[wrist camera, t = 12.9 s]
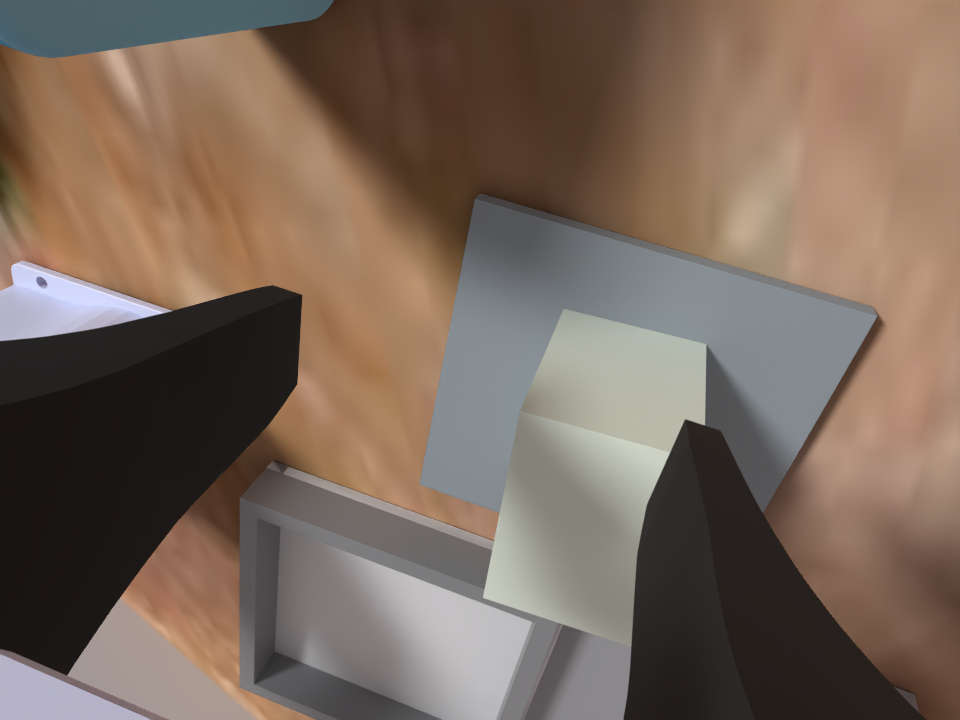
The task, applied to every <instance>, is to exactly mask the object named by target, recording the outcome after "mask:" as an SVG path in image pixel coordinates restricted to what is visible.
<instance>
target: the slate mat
mask: <svg viewBox="0 0 960 720" xmlns="http://www.w3.org/2000/svg"><path fill="white" fill-rule="evenodd" d="M564 309H567V310H571V311H575V312H579V313H583V314H587V315H591V316H595V317H599V318H603V319H607V320H611V321H615V322H619V323H623V324H627V325H631V326H635V327H639V328H643V329H647V330H651V331H655V332H659V333H663V334H667V335H671V336H675V337H679V338H683V339H687V340H691V341H695V342H700V343H704V344H706V398H705V426H708V427H711V428H714V429H717V430H720V431H721V432H722V434H723V436H724V438H725V440H726V442H727V444H728V446H729V448H730V450H731V452H732V454H733V456H734V458H735V461H736V463H737V465H738V467H739V469H740V471H741V473H742V475H743V477H744V479H745V481H746V483H747V485H748V487H749V489H750V491H751V493H752V494H753V496H754V498H755V500H756V502H757V504H758V506H759V507H760V509H761V511H762V513H763V512H764V511H765V509H766V507H767V506H768V504H769V502H770V500H771V499H772V497H773V495H774V494H775V492H776V490H777V488H778V487H779V485H780V483H781V481H782V480H783V478H784V476H785V475H786V473H787V471H788V469H789V468H790V466H791V464H792V463H793V461H794V459H795V457H796V456H797V454H798V452H799V450H800V449H801V447H802V445H803V444H804V442H805V440H806V438H807V437H808V435H809V433H810V432H811V430H812V428H813V426H814V425H815V423H816V421H817V419H818V418H819V416H820V414H821V413H822V411H823V409H824V407H825V406H826V404H827V402H828V401H829V399H830V397H831V395H832V394H833V392H834V390H835V388H836V387H837V385H838V383H839V382H840V380H841V378H842V376H843V375H844V373H845V371H846V370H847V368H848V366H849V364H850V363H851V361H852V359H853V357H854V356H855V354H856V352H857V351H858V349H859V347H860V345H861V344H862V342H863V340H864V338H865V337H866V335H867V333H868V332H869V330H870V328H871V326H872V325H873V323H874V321H875V320H876V318H877V314H876V312H875V310H874V308H873V307H871V306H867V305H864V304H861V303H857V302H854V301H850V300H847V299H843V298H840V297H836V296H833V295H830V294H826V293H823V292H819V291H816V290H812V289H809V288H805V287H802V286H798V285H795V284H792V283H788V282H785V281H781V280H778V279H774V278H771V277H767V276H764V275H760V274H757V273H754V272H750V271H747V270H743V269H740V268H736V267H733V266H729V265H726V264H723V263H719V262H716V261H712V260H709V259H705V258H702V257H698V256H695V255H691V254H688V253H685V252H681V251H678V250H674V249H671V248H667V247H664V246H660V245H657V244H653V243H650V242H647V241H643V240H640V239H636V238H633V237H629V236H626V235H622V234H619V233H616V232H612V231H609V230H605V229H602V228H598V227H595V226H591V225H588V224H584V223H581V222H578V221H574V220H571V219H567V218H564V217H560V216H557V215H553V214H550V213H546V212H543V211H540V210H536V209H533V208H529V207H526V206H522V205H519V204H515V203H512V202H509V201H505V200H502V199H498V198H495V197H491V196H488V195H484V194H481V193H480V194H479V195H478V196H477V197H476V198H475V200H474V205H473V211H472V216H471V221H470V226H469V231H468V236H467V242H466V247H465V252H464V257H463V262H462V267H461V273H460V278H459V283H458V288H457V293H456V298H455V304H454V309H453V314H452V319H451V324H450V329H449V335H448V340H447V345H446V350H445V355H444V360H443V366H442V371H441V376H440V381H439V386H438V391H437V397H436V402H435V407H434V412H433V417H432V422H431V428H430V433H429V438H428V443H427V448H426V453H425V459H424V464H423V469H422V474H421V479H420V485H422V486H425V487H428V488H431V489H434V490H436V491H439V492H442V493H445V494H448V495H450V496H453V497H456V498H459V499H462V500H464V501H467V502H470V503H473V504H476V505H478V506H481V507H484V508H487V509H490V510H492V511H495V512H498V513H500V509H501V504H502V499H503V494H504V489H505V484H506V479H507V474H508V469H509V464H510V459H511V454H512V449H513V444H514V439H515V434H516V429H517V424H518V419H519V414H520V410H521V407H522V405H523V403H524V400H525V398H526V396H527V393H528V391H529V389H530V386H531V384H532V382H533V379H534V377H535V375H536V372H537V370H538V368H539V366H540V363H541V361H542V359H543V356H544V354H545V352H546V349H547V347H548V345H549V342H550V340H551V338H552V335H553V333H554V331H555V328H556V326H557V324H558V321H559V319H560V317H561V314H562V312H563V310H564Z"/></svg>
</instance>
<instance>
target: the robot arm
mask: <svg viewBox="0 0 960 720" xmlns="http://www.w3.org/2000/svg"><path fill="white" fill-rule="evenodd" d="M12 277H13V282H14V285H12V286H10V287H8V288H6V289H4V290H2V291H0V720H168V719H166V718H163V717H161V716H159V715H156V714H154V713H152V712H150V711H147V710H145V709H143V708H140V707H138V706H136V705H133V704H131V703H129V702H126V701H124V700H122V699H119V698H117V697H115V696H113V695H110V694H108V693H106V692H103V691H101V690H99V689H96V688H94V687H91V686H89V685H87V684H85V683H82V682H80V681H78V680H76V679H73V678H71V677H68V676H67V675H68V673H69V672H70V670H71V668H72V667H73V665H74V664H75V662H76V661H77V659H78V658H79V656H80V655H81V653H82V652H83V650H84V649H85V648H86V646H87V645H88V643H89V642H90V640H91V639H92V637H93V636H94V634H95V633H96V631H97V630H98V628H99V627H100V625H101V624H102V623H103V621H104V620H105V618H106V616H107V615H108V614H109V612H110V611H111V609H112V608H113V607H114V605H115V604H116V602H117V601H118V600H119V598H120V597H121V596H122V594H123V593H124V591H125V590H126V589H127V587H128V586H129V585H130V583H131V582H132V580H133V579H134V578H135V576H136V575H137V574H138V572H139V571H140V569H141V568H142V567H143V565H144V564H145V563H146V561H147V560H148V559H149V557H150V556H151V555H152V554H153V552H154V551H155V550H156V548H157V547H158V546H159V544H160V543H161V542H162V541H163V539H164V538H165V537H166V535H167V534H168V533H169V531H170V530H171V529H172V528H173V526H174V525H175V524H176V523H177V521H178V520H179V519H180V518H181V517H182V516H183V515H184V513H185V512H186V511H187V510H188V509H189V508H190V507H191V505H192V504H193V503H194V502H195V501H196V500H197V499H198V498H199V497H200V496H201V495H202V494H203V493H204V492H205V491H206V490H207V489H208V488H209V487H210V486H211V485H212V484H213V482H214V481H215V480H216V479H217V478H219V477H220V476H221V475H222V474H223V473H224V471H225V470H226V469H227V468H228V467H229V466H230V465H231V464H232V463H233V462H234V461H235V460H236V459H237V458H238V457H239V456H240V455H241V453H242V452H243V451H244V450H245V449H246V448H247V447H248V446H249V445H250V444H251V443H252V442H253V441H254V440H255V439H256V438H257V437H258V436H259V434H260V433H261V432H262V431H263V430H264V429H265V428H266V427H267V426H268V425H269V424H270V422H271V421H272V419H273V418H274V417H275V415H276V414H277V413H278V411H279V410H280V409H281V407H282V406H283V404H284V403H285V401H286V400H287V399H288V397H289V396H290V394H291V393H292V391H293V390H294V388H295V387H296V385H297V379H298V361H299V343H300V325H301V308H302V295H301V294H298V293H295V292H292V291H289V290H285V289H282V288H279V287H276V286H273V285H272V286H266V287H261V288H256V289H252V290H248V291H244V292H240V293H236V294H233V295H229V296H225V297H222V298H218V299H214V300H211V301H207V302H203V303H200V304H196V305H192V306H189V307H185V308H181V309H178V310H174V311H172V310H169V309H166V308H163V307H160V306H157V305H154V304H151V303H148V302H145V301H142V300H139V299H136V298H133V297H130V296H127V295H124V294H121V293H118V292H115V291H112V290H109V289H106V288H104V287H101V286H98V285H95V284H92V283H89V282H86V281H83V280H80V279H77V278H74V277H71V276H68V275H65V274H62V273H59V272H56V271H53V270H50V269H47V268H44V267H41V266H38V265H35V264H32V263H29V262H26V261H21V262H18V263H16V264H14V265H13V266H12ZM623 720H926V719H925V718H924V717H923V716H922V715H921V714H920V713H919V712H918V711H917V710H916V709H915V708H914V707H913V706H912V705H911V704H910V703H909V702H908V701H907V700H906V699H905V698H904V697H903V696H902V695H901V694H900V693H899V692H898V691H897V690H896V689H895V688H894V687H893V686H892V685H891V683H890V682H889V681H888V680H887V679H886V678H885V677H884V676H883V675H882V674H881V673H880V672H879V671H878V669H877V668H876V667H875V666H874V665H873V664H872V663H871V661H870V660H869V659H868V658H867V657H866V656H865V655H864V654H863V652H862V651H861V650H860V649H859V648H858V647H857V646H856V645H855V643H854V642H853V641H852V640H851V639H850V638H849V636H848V635H847V634H846V633H845V632H844V630H843V629H842V628H841V627H840V626H839V624H838V623H837V622H836V621H835V619H834V618H833V617H832V616H831V614H830V613H829V612H828V610H827V609H826V608H825V606H824V605H823V604H822V602H821V601H820V600H819V598H818V597H817V596H816V594H815V593H814V592H813V590H812V589H811V588H810V586H809V585H808V584H807V582H806V581H805V580H804V578H803V577H802V575H801V574H800V572H799V571H798V570H797V568H796V567H795V565H794V563H793V562H792V560H791V559H790V557H789V556H788V554H787V553H786V551H785V549H784V548H783V546H782V545H781V543H780V542H779V540H778V538H777V537H776V535H775V534H774V532H773V530H772V528H771V527H770V525H769V523H768V522H767V520H766V518H765V516H764V515H763V513H762V511H761V509H760V507H759V506H758V504H757V502H756V500H755V498H754V496H753V494H752V493H751V491H750V489H749V487H748V485H747V483H746V481H745V479H744V477H743V475H742V473H741V471H740V469H739V467H738V465H737V463H736V461H735V458H734V456H733V454H732V452H731V450H730V448H729V446H728V444H727V442H726V440H725V438H724V436H723V434H722V432H721V431H720V430H717V429H714V428H711V427H708V426H705V425H702V424H699V423H696V422H693V421H690V420H687V419H685V420H684V423H683V425H682V427H681V429H680V432H679V434H678V436H677V438H676V441H675V443H674V445H673V447H672V450H671V452H670V454H669V456H668V458H667V461H666V463H665V465H664V467H663V470H662V472H661V474H660V476H659V479H658V481H657V483H656V485H655V488H654V490H653V492H652V494H651V496H650V499H649V501H648V503H647V506H646V511H645V516H644V521H643V526H642V531H641V536H640V541H639V547H638V552H637V562H636V577H635V593H634V609H633V626H632V643H631V660H630V674H629V684H628V693H627V700H626V706H625V712H624V718H623Z"/></svg>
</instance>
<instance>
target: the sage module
mask: <svg viewBox="0 0 960 720" xmlns="http://www.w3.org/2000/svg"><path fill="white" fill-rule="evenodd" d="M705 398H706V344H704V343H700V342H695V341H691V340H687V339H683V338H679V337H675V336H671V335H667V334H663V333H659V332H655V331H651V330H647V329H643V328H639V327H635V326H631V325H627V324H623V323H619V322H615V321H611V320H607V319H603V318H599V317H595V316H591V315H587V314H583V313H579V312H575V311H571V310H567V309H564V310H563V312H562V314H561V317H560V319H559V321H558V324H557V326H556V328H555V331H554V333H553V335H552V338H551V340H550V342H549V345H548V347H547V349H546V352H545V354H544V356H543V359H542V361H541V363H540V366H539V368H538V370H537V372H536V375H535V377H534V379H533V382H532V384H531V386H530V389H529V391H528V393H527V396H526V398H525V400H524V403H523V405H522V407H521V410H520V414H519V419H518V424H517V429H516V434H515V439H514V444H513V449H512V454H511V459H510V464H509V469H508V474H507V479H506V484H505V489H504V494H503V499H502V504H501V509H500V514H499V519H498V524H497V529H496V534H495V539H494V544H493V549H492V554H491V559H490V564H489V569H488V574H487V579H486V585H485V590H484V595H483V598H485V599H488V600H491V601H494V602H497V603H500V604H503V605H506V606H509V607H512V608H515V609H518V610H521V611H524V612H527V613H530V614H533V615H536V616H539V617H542V618H545V619H548V620H551V621H554V622H557V623H560V624H563V625H566V626H570V627H573V628H576V629H579V630H582V631H585V632H588V633H591V634H594V635H597V636H600V637H603V638H606V639H609V640H612V641H615V642H618V643H621V644H624V645H627V646H630V647H631V643H632V626H633V609H634V593H635V577H636V562H637V552H638V547H639V541H640V536H641V531H642V526H643V521H644V516H645V511H646V506H647V503H648V501H649V499H650V496H651V494H652V492H653V490H654V488H655V485H656V483H657V481H658V479H659V476H660V474H661V472H662V470H663V467H664V465H665V463H666V461H667V458H668V456H669V454H670V452H671V450H672V447H673V445H674V443H675V441H676V438H677V436H678V434H679V432H680V429H681V427H682V425H683V423H684V420H685V419H687V420H690V421H693V422H696V423H699V424H702V425H705Z"/></svg>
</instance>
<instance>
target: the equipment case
mask: <svg viewBox="0 0 960 720" xmlns="http://www.w3.org/2000/svg"><path fill="white" fill-rule="evenodd" d="M493 544H494V541H492V540H489V539H487V538H484V537H481V536H478V535H476V534H473V533H470V532H467V531H465V530H462V529H459V528H456V527H454V526H451V525H448V524H445V523H443V522H440V521H437V520H434V519H432V518H429V517H426V516H423V515H421V514H418V513H415V512H412V511H410V510H407V509H404V508H401V507H399V506H396V505H393V504H390V503H388V502H385V501H382V500H379V499H377V498H374V497H371V496H368V495H366V494H363V493H360V492H357V491H355V490H352V489H349V488H346V487H344V486H341V485H338V484H335V483H333V482H330V481H327V480H324V479H322V478H319V477H316V476H313V475H311V474H308V473H305V472H302V471H300V470H297V469H294V468H291V467H289V466H286V465H283V464H280V463H278V462H275V461H272V462H271V463H270V464H269V465H268V466H267V467H266V468H265V470H264V471H263V472H262V473H261V474H260V475H259V476H258V478H257V479H256V480H255V481H254V482H253V483H252V484H251V485H250V487H249V488H248V489H247V490H246V491H245V492H244V493H243V495H242V496H241V497H240V688H242V689H244V690H247V691H249V692H252V693H254V694H256V695H259V696H261V697H264V698H266V699H268V700H271V701H273V702H276V703H278V704H280V705H283V706H285V707H287V708H290V709H292V710H295V711H297V712H299V713H302V714H304V715H307V716H309V717H311V718H314V719H316V720H623V718H624V712H625V706H626V700H627V693H628V684H629V674H630V660H631V647H630V646H627V645H624V644H621V643H618V642H615V641H612V640H609V639H606V638H603V637H600V636H597V635H594V634H591V633H588V632H585V631H582V630H579V629H576V628H573V627H570V626H566V625H563V624H560V623H557V622H554V621H551V620H548V619H545V618H542V617H539V616H536V615H533V614H530V613H527V612H524V611H521V610H518V609H515V608H512V607H509V606H506V605H503V604H500V603H497V602H494V601H491V600H488V599H485V598H483V595H484V590H485V585H486V579H487V574H488V569H489V564H490V559H491V554H492V549H493ZM894 688H895V689H896V690H897V691H898V692H899V693H900V694H901V695H902V696H903V697H904V698H905V699H906V700H907V701H908V702H909V703H910V704H911V705H912V706H913V707H914V708H915V709H916V710H917V711H918V712H919V709H918V705H917V701H916V698H915V694H913V693H910V692H907V691H904V690H902V689H899V688H896V687H894ZM919 713H920V712H919Z"/></svg>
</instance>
